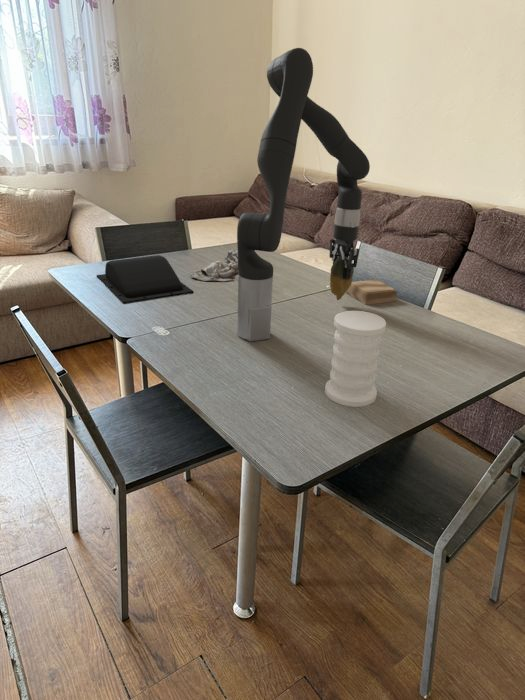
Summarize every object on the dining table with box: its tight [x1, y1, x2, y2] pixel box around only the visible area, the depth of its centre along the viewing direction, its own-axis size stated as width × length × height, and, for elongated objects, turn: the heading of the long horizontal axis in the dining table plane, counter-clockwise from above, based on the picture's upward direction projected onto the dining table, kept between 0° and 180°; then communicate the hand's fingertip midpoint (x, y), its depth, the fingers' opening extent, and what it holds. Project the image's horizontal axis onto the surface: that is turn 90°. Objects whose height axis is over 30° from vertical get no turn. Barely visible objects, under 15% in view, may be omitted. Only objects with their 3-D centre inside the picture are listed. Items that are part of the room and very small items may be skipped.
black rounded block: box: [96, 255, 194, 305], centre depth 176 cm, size 24×8×30 cm
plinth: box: [345, 279, 398, 305], centre depth 175 cm, size 12×12×4 cm
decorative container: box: [324, 310, 387, 408], centre depth 112 cm, size 12×12×18 cm
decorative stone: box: [329, 256, 355, 301], centre depth 163 cm, size 10×6×15 cm, turn 131°
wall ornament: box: [189, 249, 239, 282], centre depth 192 cm, size 19×10×30 cm
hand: (340, 275), depth 163 cm, fingers closed on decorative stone, 6 cm apart
